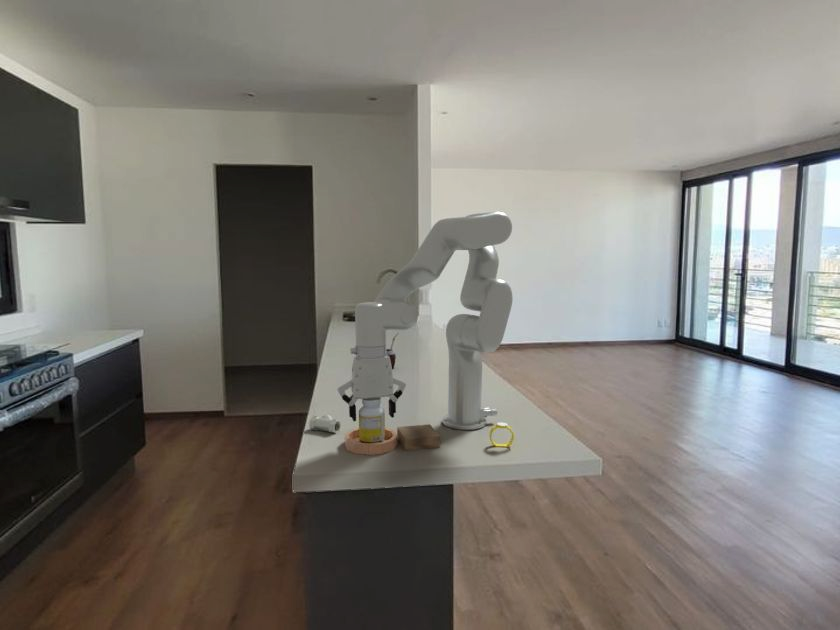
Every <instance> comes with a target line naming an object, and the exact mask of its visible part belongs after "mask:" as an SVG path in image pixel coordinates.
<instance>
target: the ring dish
mask: <svg viewBox="0 0 840 630" xmlns="http://www.w3.org/2000/svg"><path fill="white" fill-rule="evenodd" d="M344 445H345V446H344V447H345V449H346V450H347V451H349V452H351V453H353V454H355V455H356V454H357V455H364V454H366V456H373V455H382V454H385V453H388V452H391V451H393V450H395V449H396V447H397V446H398V439H397V431H395V430H393V429H391V428H388V427H385V440H384V442H380V443H360V441H359V427H358V428H354V429H351V430H349V431H348V432H346V433H345V434H344Z"/></svg>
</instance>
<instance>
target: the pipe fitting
mask: <svg viewBox="0 0 840 630" xmlns="http://www.w3.org/2000/svg"><path fill="white" fill-rule="evenodd" d="M308 423H309V425H308V426H309V428H310V429H311V430H313V431H314V430H315V431H318V430H319V431H324V432H328V433H332V434H338V433H339V432H340V430H341V427H342V426H341V425H342V424H341V421H340V420H339V419H336V418H333V417H332V416H331V415H329V414H324V415H323V416H321V417H319V416H318V415H317V416H316V415H313V416H312V417H311V418H310V419H309V422H308Z"/></svg>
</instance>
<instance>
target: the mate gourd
mask: <svg viewBox="0 0 840 630" xmlns="http://www.w3.org/2000/svg"><path fill="white" fill-rule="evenodd" d="M398 335H399V332H397V333H396V334H395V336H393V338H392V342H391V346H390V348H386V355H388V356H389V357H390V361H391V366H392V370H394V369H395V364H396V358H397V357H396V352H395V351H394V349H393V345H394V342H395V340H396V337H397V336H398ZM393 368H394V369H393Z"/></svg>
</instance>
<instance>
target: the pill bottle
mask: <svg viewBox="0 0 840 630" xmlns="http://www.w3.org/2000/svg"><path fill="white" fill-rule="evenodd" d="M381 398H382V397H379V398H368V399H361V401H362V402H361V403H362V405H363V406H361V408H360V409H359V410H358V428H359V441H360V443H380V442H384V440H385V428H386V427H385V422H386V420H385V418H386V417H385V408H383V406H381V403H382V399H381Z"/></svg>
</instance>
